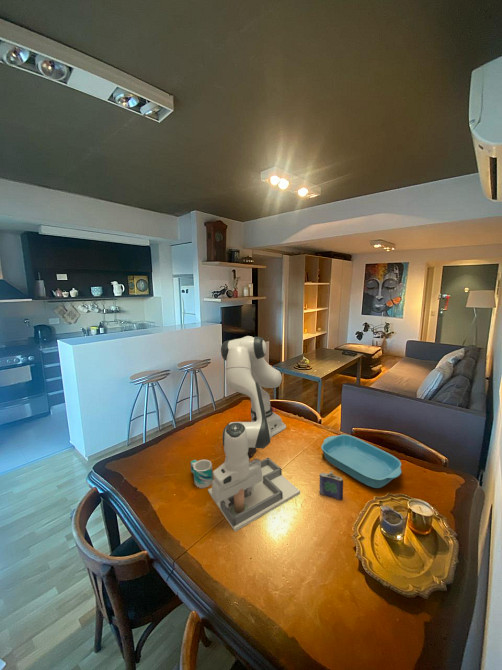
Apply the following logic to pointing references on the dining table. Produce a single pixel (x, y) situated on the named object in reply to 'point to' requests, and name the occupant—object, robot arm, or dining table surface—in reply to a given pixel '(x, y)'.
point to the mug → (202, 473)
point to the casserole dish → (361, 460)
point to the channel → (261, 496)
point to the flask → (331, 485)
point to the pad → (234, 510)
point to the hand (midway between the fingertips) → (239, 500)
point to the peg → (239, 502)
